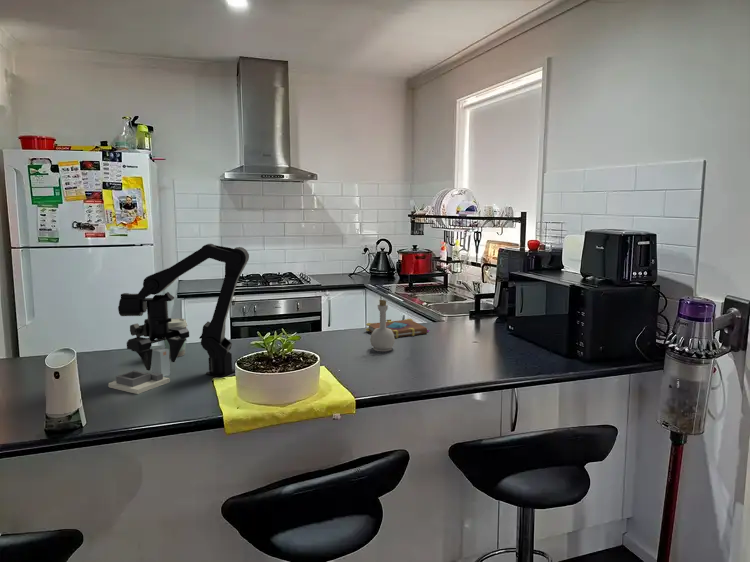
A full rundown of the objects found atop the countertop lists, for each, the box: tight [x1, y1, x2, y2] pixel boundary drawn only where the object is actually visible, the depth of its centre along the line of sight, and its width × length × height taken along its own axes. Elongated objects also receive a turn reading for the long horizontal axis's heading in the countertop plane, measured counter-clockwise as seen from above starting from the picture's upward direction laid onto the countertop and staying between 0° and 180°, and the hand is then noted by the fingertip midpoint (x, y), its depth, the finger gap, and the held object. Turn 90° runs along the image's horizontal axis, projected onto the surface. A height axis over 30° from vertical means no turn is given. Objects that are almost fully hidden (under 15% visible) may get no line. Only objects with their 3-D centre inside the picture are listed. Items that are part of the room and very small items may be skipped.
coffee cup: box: [163, 317, 188, 358], centre depth 182 cm, size 8×9×12 cm
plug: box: [151, 347, 171, 377], centre depth 162 cm, size 4×3×8 cm
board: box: [108, 370, 171, 395], centre depth 153 cm, size 12×11×3 cm
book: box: [365, 318, 431, 339], centre depth 215 cm, size 16×25×5 cm, turn 115°
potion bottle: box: [369, 299, 396, 353], centre depth 189 cm, size 9×9×18 cm
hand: (161, 366), depth 162 cm, fingers open, 9 cm apart
